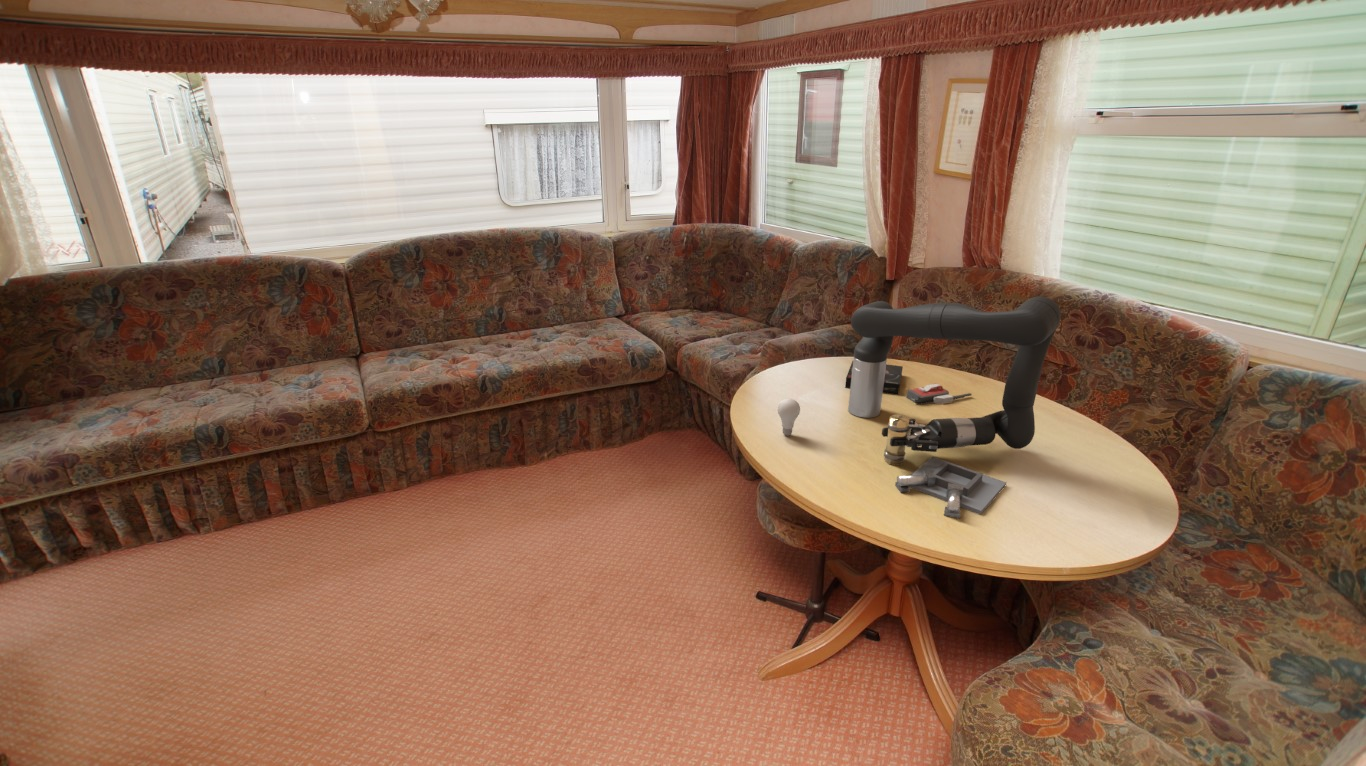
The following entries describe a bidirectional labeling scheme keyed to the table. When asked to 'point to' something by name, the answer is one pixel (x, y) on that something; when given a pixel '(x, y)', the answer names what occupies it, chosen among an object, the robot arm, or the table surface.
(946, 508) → the shaft
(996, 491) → the stand
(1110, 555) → the table surface
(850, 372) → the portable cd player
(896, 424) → the gold cylindrical piece
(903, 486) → the shaft
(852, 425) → the table surface
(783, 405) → the lightbulb
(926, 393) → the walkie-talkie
